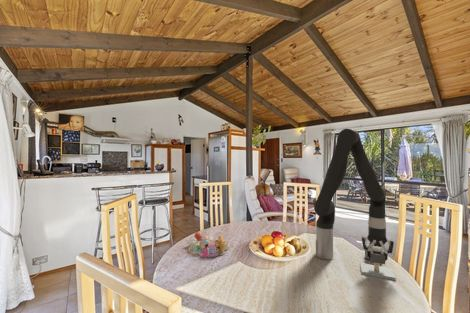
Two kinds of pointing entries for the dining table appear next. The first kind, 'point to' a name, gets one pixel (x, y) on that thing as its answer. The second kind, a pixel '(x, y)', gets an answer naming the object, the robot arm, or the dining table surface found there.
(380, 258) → the grey block
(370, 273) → the peg board
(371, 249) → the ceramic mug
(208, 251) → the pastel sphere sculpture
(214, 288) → the dining table surface
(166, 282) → the dining table surface
